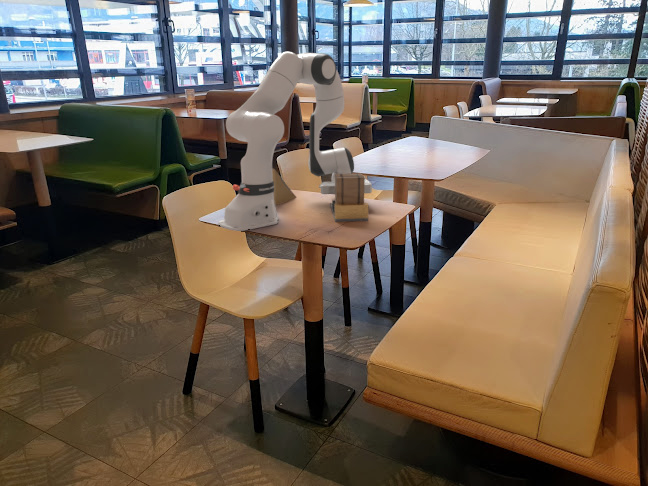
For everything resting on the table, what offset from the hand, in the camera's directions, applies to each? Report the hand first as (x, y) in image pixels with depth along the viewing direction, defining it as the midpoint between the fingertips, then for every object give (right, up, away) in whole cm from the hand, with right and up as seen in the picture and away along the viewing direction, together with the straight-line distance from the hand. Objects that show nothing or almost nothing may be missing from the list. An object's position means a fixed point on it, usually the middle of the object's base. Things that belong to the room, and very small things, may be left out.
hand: (347, 192), depth 187 cm
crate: (0, -6, -2) cm, 6 cm away
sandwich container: (-28, -1, +23) cm, 36 cm away
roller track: (0, -8, +2) cm, 8 cm away
